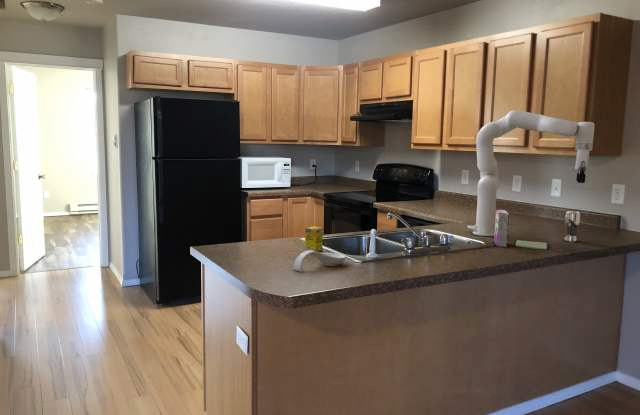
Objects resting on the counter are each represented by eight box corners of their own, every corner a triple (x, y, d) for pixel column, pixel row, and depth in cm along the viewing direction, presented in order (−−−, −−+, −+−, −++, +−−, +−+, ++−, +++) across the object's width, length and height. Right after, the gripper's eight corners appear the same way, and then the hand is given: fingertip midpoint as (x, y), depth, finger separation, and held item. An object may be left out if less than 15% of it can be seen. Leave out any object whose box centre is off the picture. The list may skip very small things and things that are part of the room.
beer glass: (571, 242, 259) (574, 213, 257) (559, 240, 265) (562, 211, 263) (580, 241, 262) (583, 212, 260) (568, 239, 268) (571, 210, 266)
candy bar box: (493, 242, 257) (495, 209, 254) (503, 242, 256) (506, 210, 253) (496, 246, 246) (498, 213, 244) (507, 247, 245) (509, 213, 243)
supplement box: (315, 254, 224) (316, 229, 222) (304, 252, 227) (304, 228, 225) (322, 251, 229) (323, 227, 227) (311, 249, 232) (312, 226, 230)
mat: (515, 246, 247) (515, 245, 247) (516, 241, 260) (516, 240, 260) (546, 249, 242) (546, 248, 241) (546, 244, 254) (547, 242, 254)
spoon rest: (331, 259, 215) (332, 242, 214) (351, 265, 206) (352, 247, 205) (287, 268, 199) (287, 250, 198) (307, 275, 191) (307, 256, 190)
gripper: (574, 146, 261) (571, 180, 263) (576, 147, 245) (572, 182, 248) (590, 147, 258) (587, 181, 260) (593, 147, 242) (590, 183, 245)
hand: (580, 181), depth 254 cm, fingers open, 9 cm apart
